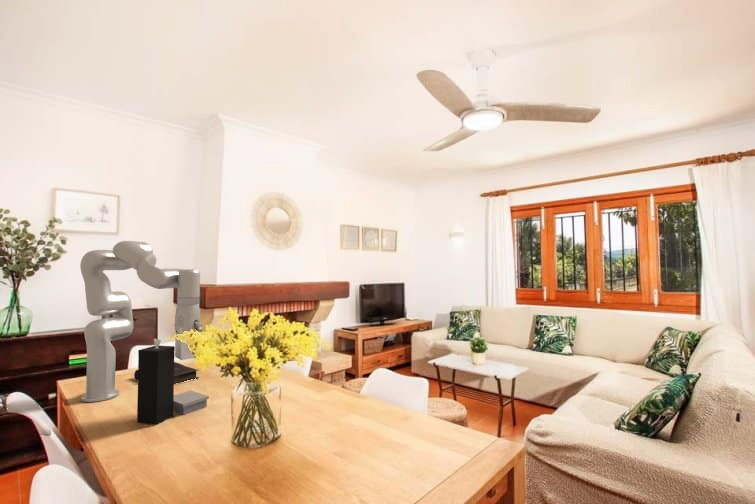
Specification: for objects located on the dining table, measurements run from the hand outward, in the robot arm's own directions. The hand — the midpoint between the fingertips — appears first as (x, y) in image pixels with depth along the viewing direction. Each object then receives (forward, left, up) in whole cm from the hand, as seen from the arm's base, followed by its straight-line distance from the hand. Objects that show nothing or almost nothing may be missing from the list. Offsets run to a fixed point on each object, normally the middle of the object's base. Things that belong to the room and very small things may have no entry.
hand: (187, 347), depth 142 cm
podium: (0, 0, -22) cm, 22 cm away
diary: (-43, +16, -23) cm, 51 cm away
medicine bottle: (0, 0, -4) cm, 4 cm away
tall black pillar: (+1, -12, -23) cm, 26 cm away
